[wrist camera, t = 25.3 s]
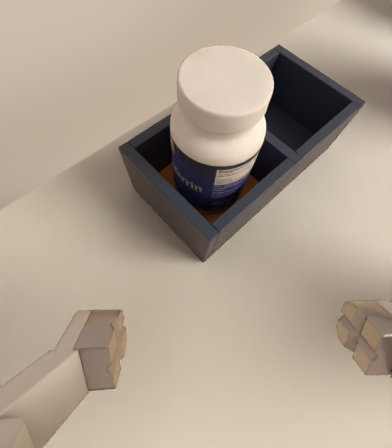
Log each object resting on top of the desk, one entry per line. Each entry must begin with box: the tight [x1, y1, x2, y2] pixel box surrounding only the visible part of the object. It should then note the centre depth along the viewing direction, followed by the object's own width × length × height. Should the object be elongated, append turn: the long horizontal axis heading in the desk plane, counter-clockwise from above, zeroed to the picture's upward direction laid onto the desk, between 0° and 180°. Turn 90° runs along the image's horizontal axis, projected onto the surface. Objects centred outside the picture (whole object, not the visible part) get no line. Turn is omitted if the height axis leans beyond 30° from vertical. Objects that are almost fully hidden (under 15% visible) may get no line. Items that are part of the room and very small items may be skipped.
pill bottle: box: [170, 45, 274, 213], centre depth 16 cm, size 6×6×10 cm
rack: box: [119, 45, 365, 262], centre depth 20 cm, size 17×9×6 cm, turn 133°
